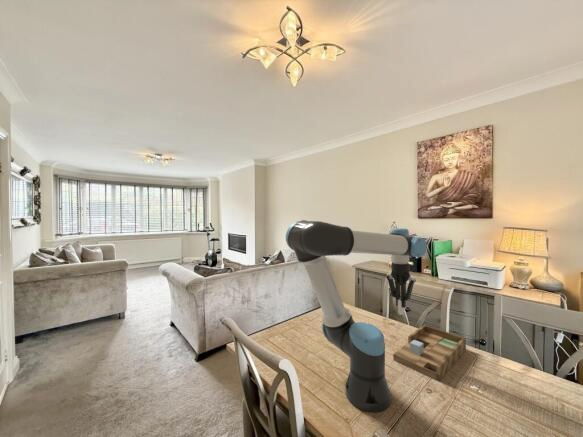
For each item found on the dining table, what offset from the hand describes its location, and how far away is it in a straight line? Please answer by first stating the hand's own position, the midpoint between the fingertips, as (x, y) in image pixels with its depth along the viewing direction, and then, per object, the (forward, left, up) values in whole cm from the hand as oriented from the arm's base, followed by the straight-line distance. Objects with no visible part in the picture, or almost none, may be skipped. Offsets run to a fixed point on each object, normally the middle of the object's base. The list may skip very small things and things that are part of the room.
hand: (400, 313), depth 112 cm
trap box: (+7, -10, -17) cm, 21 cm away
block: (0, -7, -15) cm, 16 cm away
